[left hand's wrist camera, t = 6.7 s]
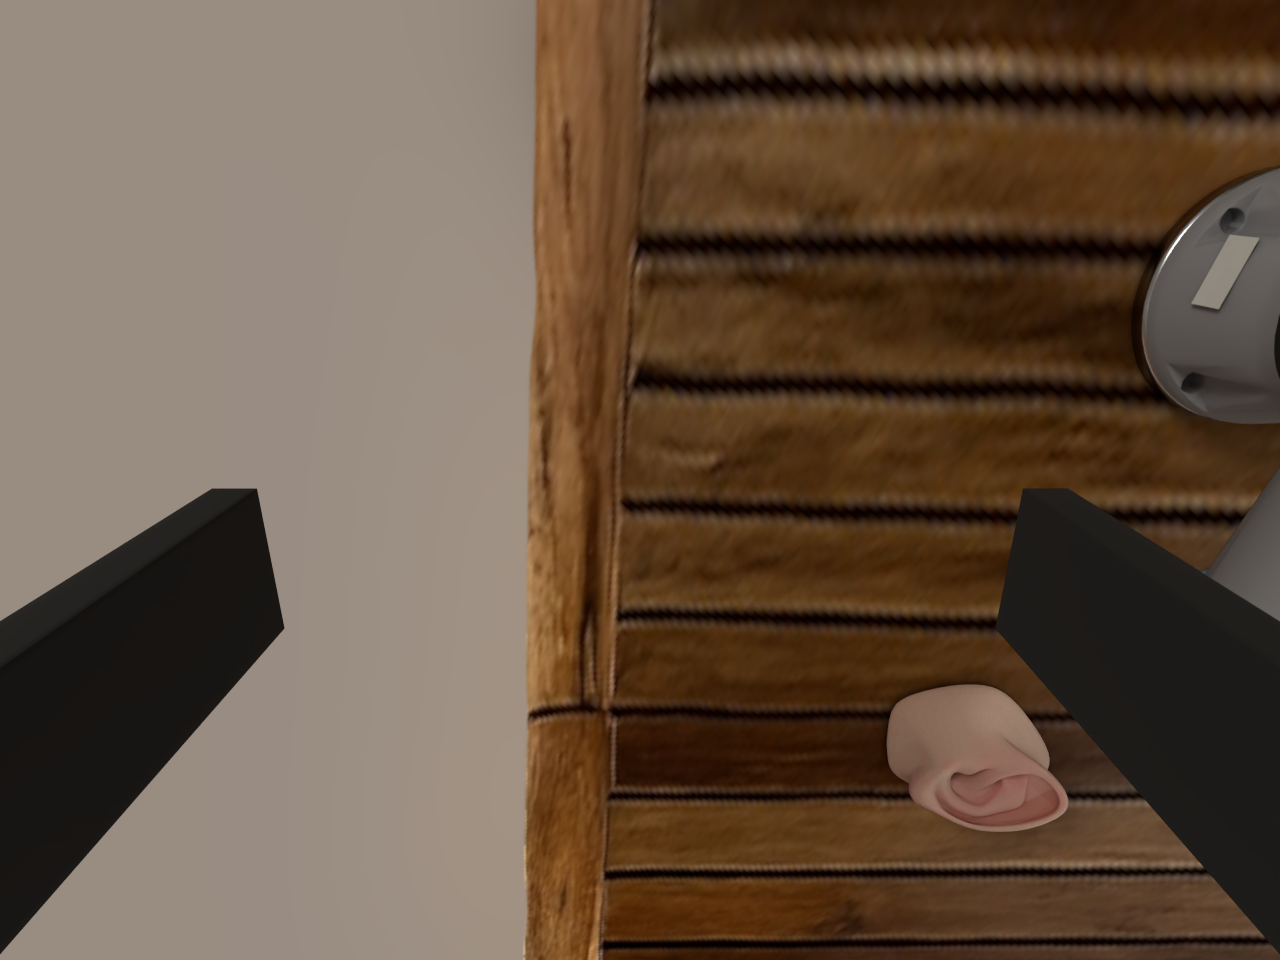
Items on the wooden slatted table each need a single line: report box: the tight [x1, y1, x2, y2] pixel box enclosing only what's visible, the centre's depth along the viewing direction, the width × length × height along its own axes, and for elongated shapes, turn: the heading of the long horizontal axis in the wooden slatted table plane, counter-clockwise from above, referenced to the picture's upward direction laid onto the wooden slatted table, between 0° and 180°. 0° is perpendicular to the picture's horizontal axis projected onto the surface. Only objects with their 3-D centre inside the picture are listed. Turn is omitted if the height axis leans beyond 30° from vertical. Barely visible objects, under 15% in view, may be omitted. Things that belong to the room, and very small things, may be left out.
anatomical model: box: [887, 684, 1068, 832], centre depth 54 cm, size 13×4×12 cm
